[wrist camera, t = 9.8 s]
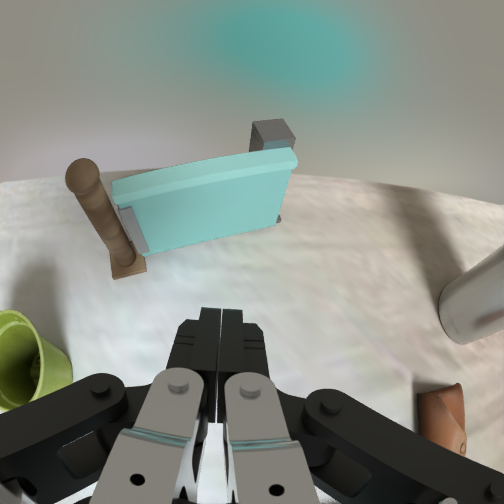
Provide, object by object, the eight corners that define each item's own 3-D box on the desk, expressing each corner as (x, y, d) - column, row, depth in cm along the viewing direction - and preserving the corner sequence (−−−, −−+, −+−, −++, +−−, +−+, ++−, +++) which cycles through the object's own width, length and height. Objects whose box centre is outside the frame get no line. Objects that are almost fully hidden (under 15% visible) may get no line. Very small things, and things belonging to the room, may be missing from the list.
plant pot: (11, 374, 23) (-36, 361, 15) (48, 316, 27) (5, 289, 19) (61, 430, 21) (15, 435, 14) (101, 368, 25) (61, 357, 18)
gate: (141, 259, 30) (111, 197, 21) (139, 245, 31) (111, 181, 21) (277, 227, 34) (298, 160, 24) (271, 214, 35) (290, 146, 25)
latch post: (267, 194, 37) (286, 113, 26) (280, 222, 36) (306, 142, 24) (235, 201, 36) (243, 118, 25) (246, 230, 35) (259, 148, 23)
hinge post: (141, 240, 33) (101, 139, 19) (146, 271, 31) (100, 175, 17) (110, 249, 32) (56, 154, 18) (114, 279, 30) (50, 192, 16)
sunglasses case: (460, 493, 20) (470, 510, 14) (412, 505, 22) (415, 525, 17) (460, 378, 28) (474, 377, 22) (412, 391, 30) (417, 394, 25)
